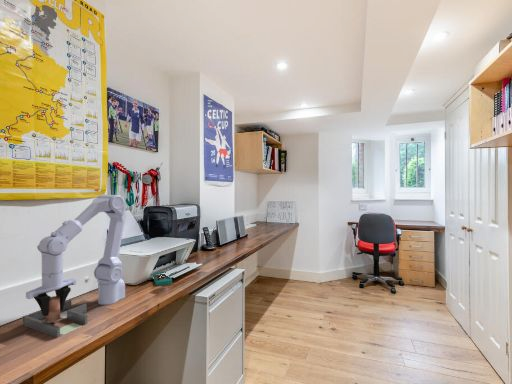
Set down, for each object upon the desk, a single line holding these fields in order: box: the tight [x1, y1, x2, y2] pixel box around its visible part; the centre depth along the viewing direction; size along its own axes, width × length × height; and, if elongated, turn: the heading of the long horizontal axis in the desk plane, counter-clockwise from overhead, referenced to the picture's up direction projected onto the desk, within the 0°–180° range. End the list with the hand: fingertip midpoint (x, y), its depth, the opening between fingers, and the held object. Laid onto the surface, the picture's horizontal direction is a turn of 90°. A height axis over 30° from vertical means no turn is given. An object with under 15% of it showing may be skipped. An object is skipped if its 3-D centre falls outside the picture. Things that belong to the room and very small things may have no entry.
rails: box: [22, 299, 89, 339], centre depth 95 cm, size 15×18×3 cm
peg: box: [44, 295, 61, 323], centre depth 93 cm, size 4×4×7 cm
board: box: [60, 308, 82, 336], centre depth 94 cm, size 16×22×1 cm
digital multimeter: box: [152, 271, 173, 287], centre depth 139 cm, size 7×15×3 cm, turn 30°
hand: (52, 312), depth 93 cm, fingers closed on peg, 4 cm apart
